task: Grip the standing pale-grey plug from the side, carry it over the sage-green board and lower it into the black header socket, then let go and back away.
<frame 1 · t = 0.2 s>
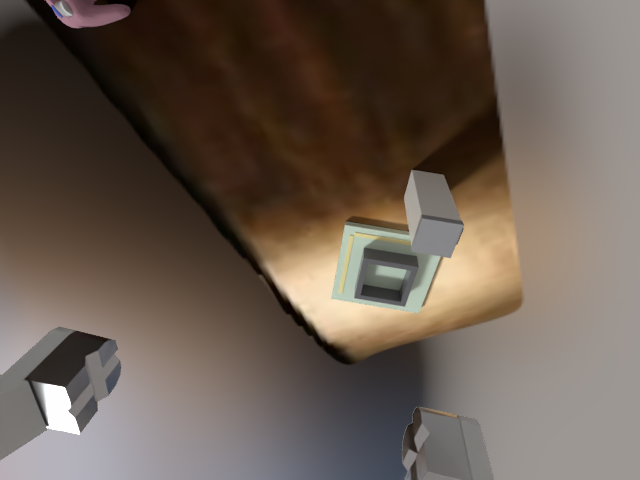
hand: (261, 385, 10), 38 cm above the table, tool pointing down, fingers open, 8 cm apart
plug: (423, 186, 47), on the table
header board: (384, 268, 55), on the table
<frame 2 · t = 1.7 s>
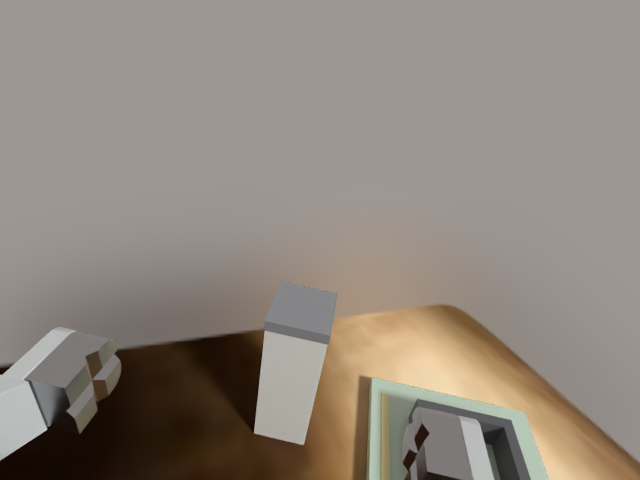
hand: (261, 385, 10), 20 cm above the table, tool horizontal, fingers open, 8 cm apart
plug: (284, 415, 30), on the table
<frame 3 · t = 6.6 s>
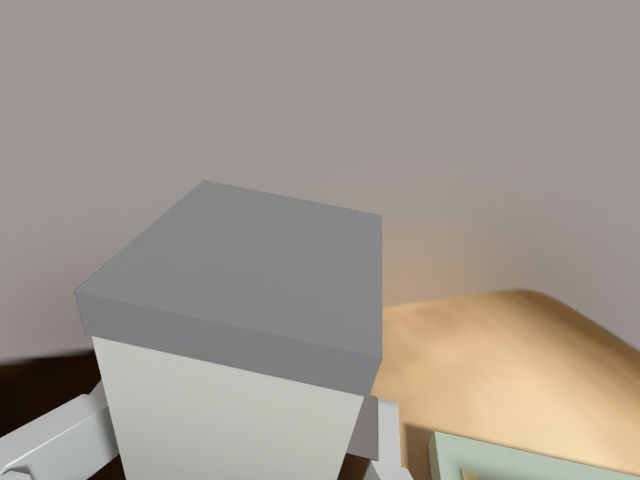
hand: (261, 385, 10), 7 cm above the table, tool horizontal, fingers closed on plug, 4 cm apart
when the fingers open (9 cm above the table, at t = 11.4 s): plug stays where it is, resting on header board.
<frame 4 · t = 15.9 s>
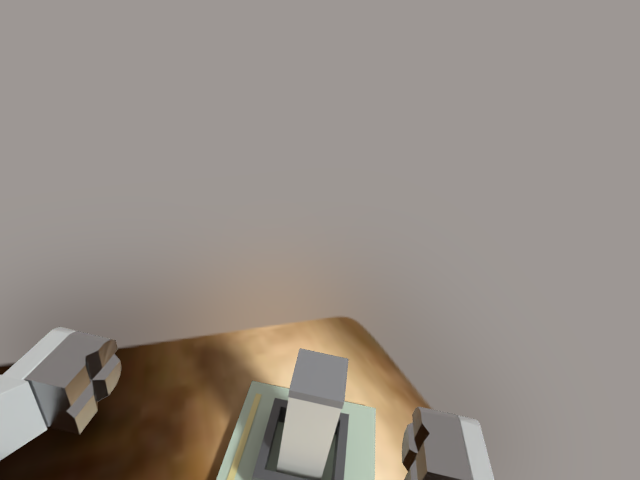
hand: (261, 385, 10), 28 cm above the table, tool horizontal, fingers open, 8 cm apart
plug: (301, 457, 35), point 1 cm above the table, touching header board
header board: (300, 463, 35), on the table
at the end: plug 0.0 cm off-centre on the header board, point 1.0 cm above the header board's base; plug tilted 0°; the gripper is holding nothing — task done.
